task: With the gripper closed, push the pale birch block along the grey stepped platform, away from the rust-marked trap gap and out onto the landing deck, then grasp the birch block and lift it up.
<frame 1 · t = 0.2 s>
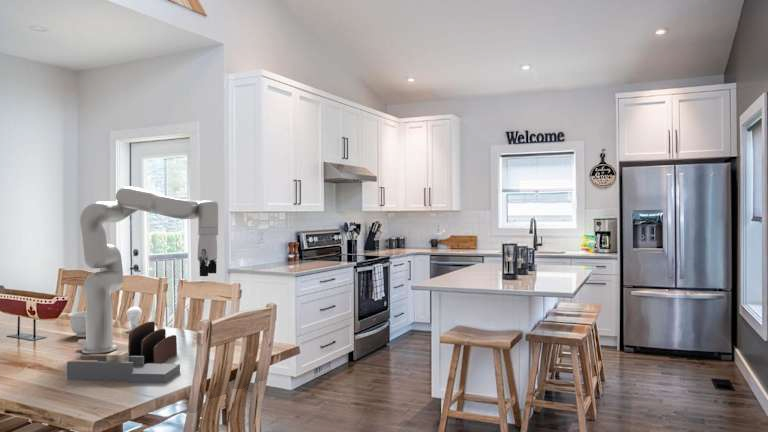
hand: (208, 274, 220), 31 cm above the table, tool pointing down, fingers open, 9 cm apart
teacup: (83, 336, 248), on the table
grey stepped platform: (106, 376, 188), on the table
light bulb: (134, 330, 261), on the table
letter holder: (153, 362, 208), on the table
birch block: (117, 367, 188), point 3 cm above the table, touching grey stepped platform
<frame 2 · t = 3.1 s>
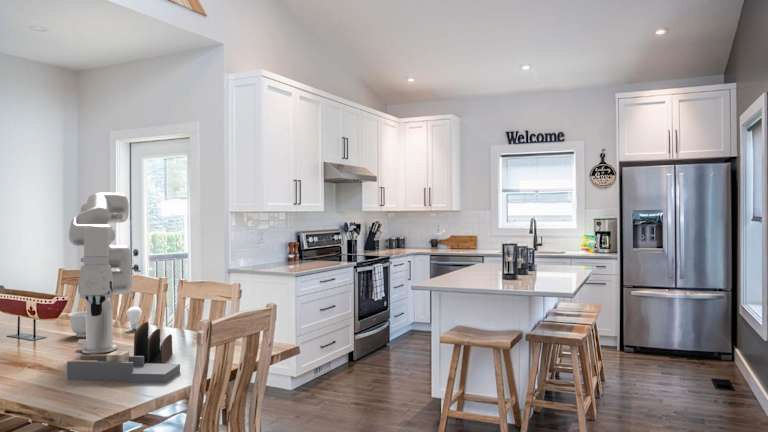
hand: (96, 315, 188), 21 cm above the table, tool pointing down, fingers closed
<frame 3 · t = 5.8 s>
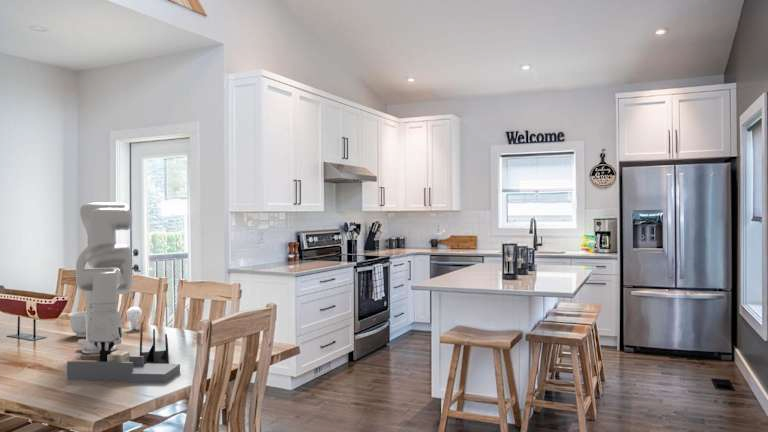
hand: (105, 361, 188), 5 cm above the table, tool pointing down, fingers closed
birch block: (118, 367, 188), point 3 cm above the table, touching gripper
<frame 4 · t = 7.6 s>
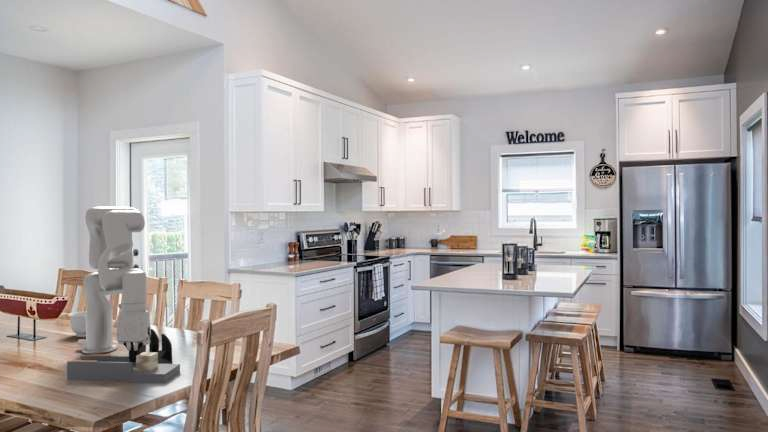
hand: (134, 361, 187), 5 cm above the table, tool pointing down, fingers closed
birch block: (147, 368, 187), point 3 cm above the table, touching gripper, grey stepped platform
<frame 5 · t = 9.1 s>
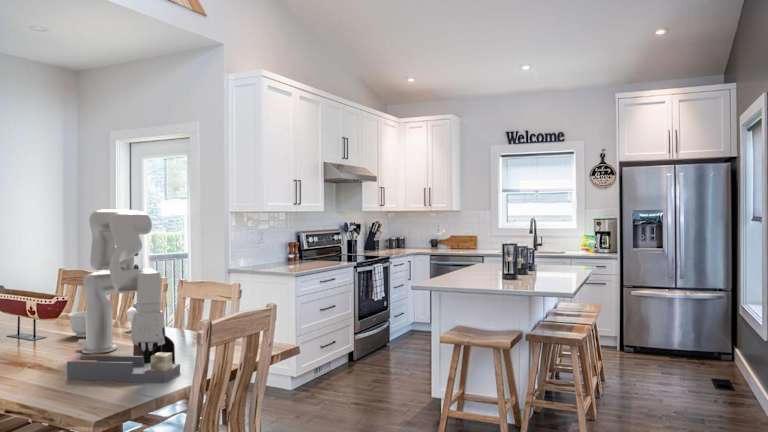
hand: (148, 361, 187), 5 cm above the table, tool pointing down, fingers closed
birch block: (161, 369, 187), point 3 cm above the table, touching gripper, grey stepped platform
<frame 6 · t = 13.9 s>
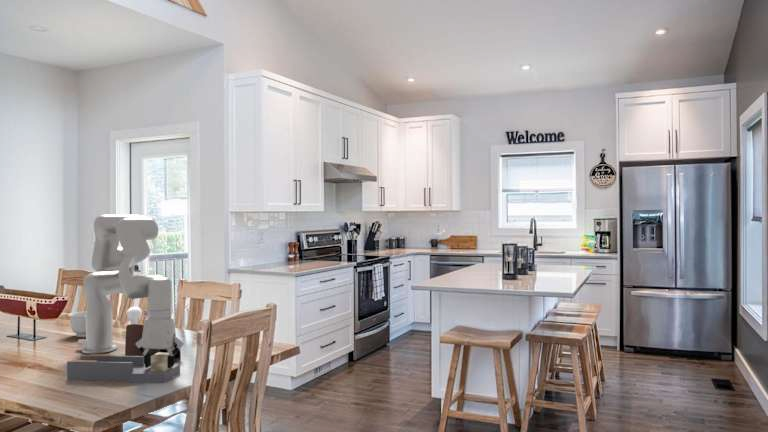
hand: (159, 366, 187), 4 cm above the table, tool pointing down, fingers open, 7 cm apart
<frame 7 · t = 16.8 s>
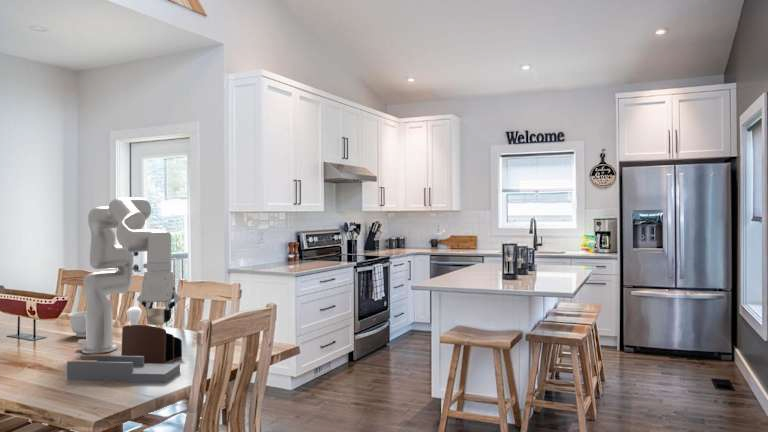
hand: (158, 320, 187), 19 cm above the table, tool pointing down, fingers closed on birch block, 5 cm apart
birch block: (158, 323, 186), point 19 cm above the table, touching gripper
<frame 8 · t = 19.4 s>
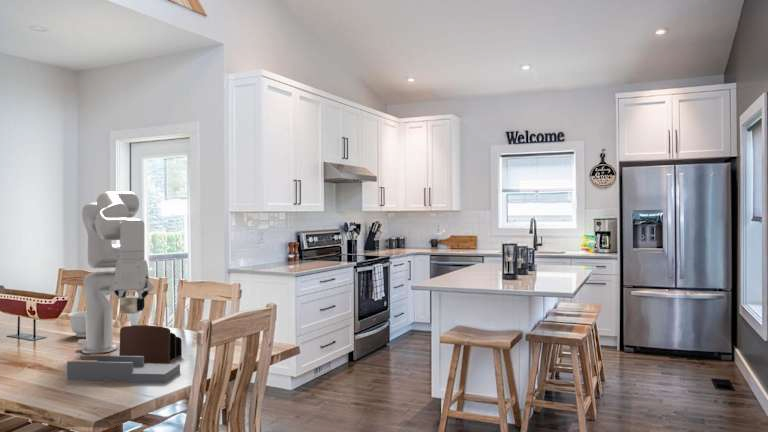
hand: (132, 309, 185), 23 cm above the table, tool pointing down, fingers closed on birch block, 5 cm apart
birch block: (131, 311, 185), point 23 cm above the table, touching gripper
at the end: the gripper is holding birch block; birch block point 22.6 cm above the table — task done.
